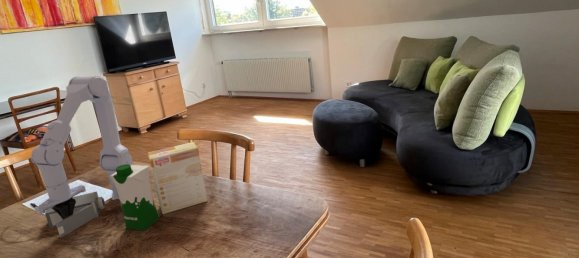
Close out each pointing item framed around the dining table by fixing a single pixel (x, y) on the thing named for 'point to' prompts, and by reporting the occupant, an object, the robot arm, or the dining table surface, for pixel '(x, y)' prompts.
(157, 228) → the dining table surface
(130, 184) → the milk carton
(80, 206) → the box
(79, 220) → the side door
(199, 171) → the coffeecake box
